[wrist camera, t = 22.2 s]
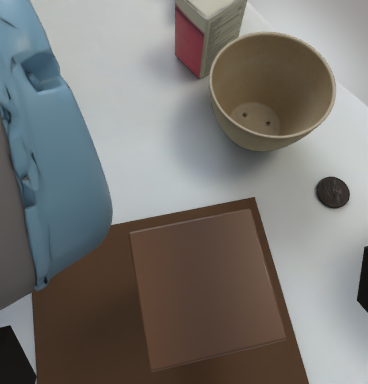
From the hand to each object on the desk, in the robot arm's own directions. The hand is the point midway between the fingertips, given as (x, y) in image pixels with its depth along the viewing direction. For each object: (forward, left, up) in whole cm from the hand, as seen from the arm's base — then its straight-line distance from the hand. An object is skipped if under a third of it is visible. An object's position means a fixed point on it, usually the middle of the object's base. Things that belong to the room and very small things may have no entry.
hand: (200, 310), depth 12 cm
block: (0, +1, -15) cm, 15 cm away
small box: (+7, +25, -16) cm, 30 cm away
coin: (+15, +7, -16) cm, 23 cm away
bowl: (+10, +15, -16) cm, 24 cm away
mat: (-2, 0, -16) cm, 16 cm away
